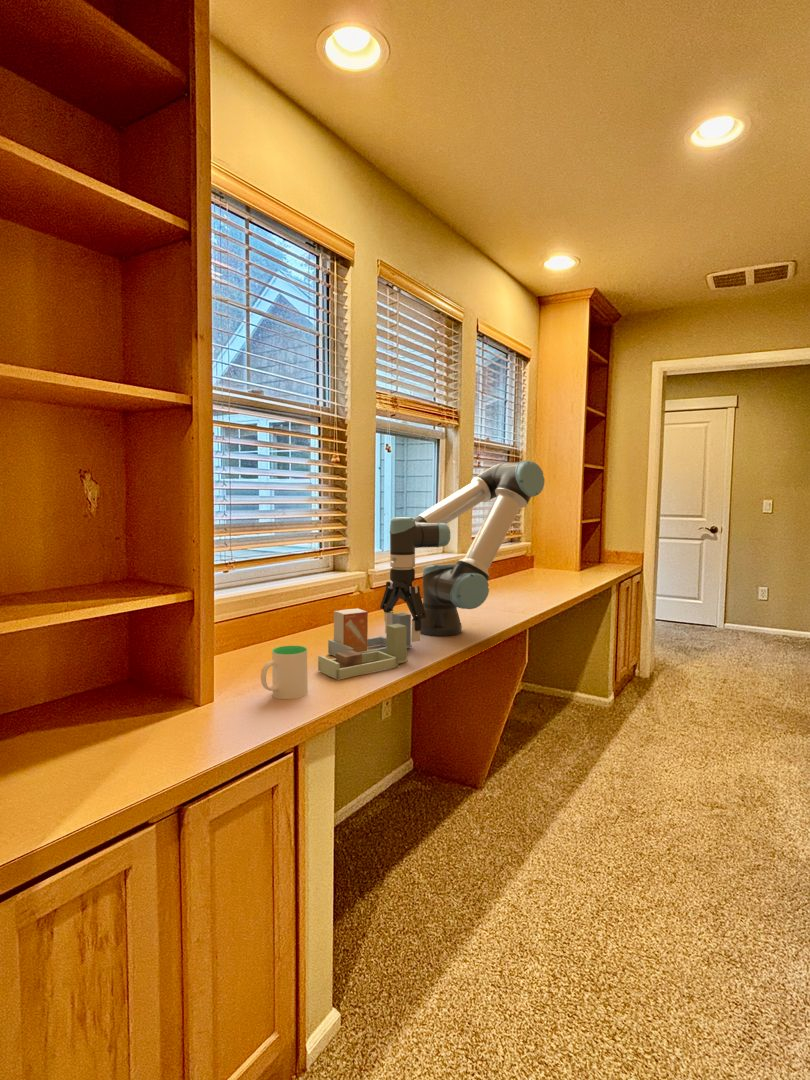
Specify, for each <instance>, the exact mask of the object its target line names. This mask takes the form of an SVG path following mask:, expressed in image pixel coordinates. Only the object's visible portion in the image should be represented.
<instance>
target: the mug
mask: <svg viewBox="0 0 810 1080" xmlns="http://www.w3.org/2000/svg"><path fill="white" fill-rule="evenodd" d="M271 650H272V651H271V655H272V656H271V658H272V659H271V660H268V661H267V662H265V663H264V665H263V666H262V668H261V671H260V682H261V685H262V687H263V688H264V689H265V690H267V691H271V692H272V697H274V698H277V699H280V700H294V699H295V700H296V699H299V698H303V697H305V696H306V695H307V694H308V692H309V691H308V688H309V687H308V678H309V677H308V648H307V647H306V646H302V645H284V646H283V645H282V646H278V647H274V648H272V649H271ZM270 667H272V668H271V669H272V673H271V674H272V675H271V676H272V685H271V686H269V685H268V683H267V674H268V670H269V668H270Z"/></svg>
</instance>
